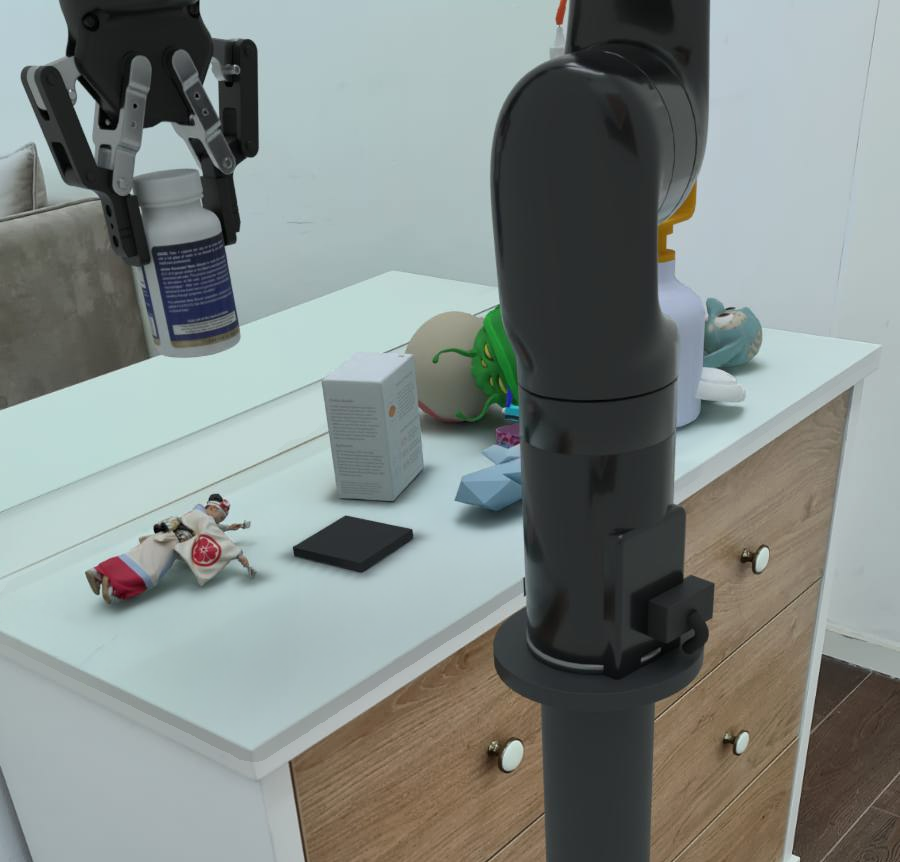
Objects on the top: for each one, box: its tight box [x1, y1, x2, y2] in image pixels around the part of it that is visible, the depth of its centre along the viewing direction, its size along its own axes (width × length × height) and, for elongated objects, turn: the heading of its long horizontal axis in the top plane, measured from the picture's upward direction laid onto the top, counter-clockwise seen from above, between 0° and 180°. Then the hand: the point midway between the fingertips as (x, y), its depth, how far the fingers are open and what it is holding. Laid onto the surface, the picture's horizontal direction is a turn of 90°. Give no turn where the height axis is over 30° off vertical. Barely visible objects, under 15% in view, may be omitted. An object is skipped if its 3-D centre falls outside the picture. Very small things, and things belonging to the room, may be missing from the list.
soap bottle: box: [658, 179, 706, 429], centre depth 107 cm, size 9×9×25 cm
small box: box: [321, 351, 425, 502], centre depth 103 cm, size 8×6×10 cm
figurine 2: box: [432, 303, 519, 422], centre depth 108 cm, size 13×15×10 cm
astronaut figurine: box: [695, 367, 747, 403], centre depth 115 cm, size 9×12×3 cm
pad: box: [292, 514, 414, 573], centre depth 95 cm, size 7×7×1 cm
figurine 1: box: [84, 493, 258, 606], centre depth 93 cm, size 6×8×15 cm
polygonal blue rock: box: [453, 443, 522, 512], centre depth 99 cm, size 13×7×5 cm, turn 135°
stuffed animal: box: [703, 297, 763, 369], centre depth 125 cm, size 11×7×12 cm
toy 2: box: [404, 310, 490, 423], centre depth 116 cm, size 10×12×10 cm
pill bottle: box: [132, 168, 242, 359], centre depth 71 cm, size 5×5×10 cm
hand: (181, 252), depth 70 cm, fingers closed on pill bottle, 5 cm apart
